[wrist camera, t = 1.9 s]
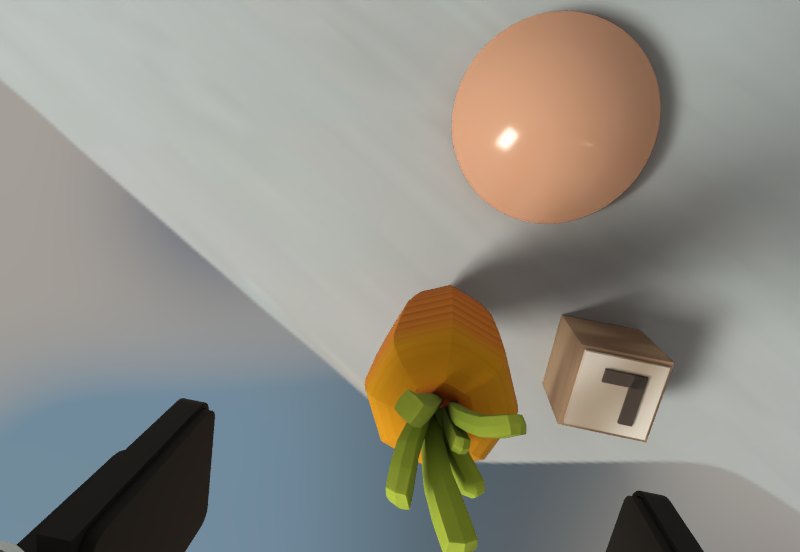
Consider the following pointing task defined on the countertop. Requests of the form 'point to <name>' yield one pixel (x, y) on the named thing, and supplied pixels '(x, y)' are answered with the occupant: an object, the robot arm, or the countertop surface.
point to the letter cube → (605, 378)
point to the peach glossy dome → (556, 117)
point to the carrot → (442, 405)
